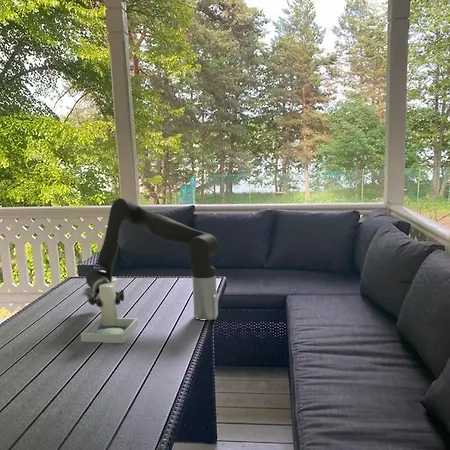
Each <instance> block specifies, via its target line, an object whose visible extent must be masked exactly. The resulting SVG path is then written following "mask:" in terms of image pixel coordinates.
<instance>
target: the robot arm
mask: <svg viewBox="0 0 450 450" xmlns="http://www.w3.org/2000/svg"><path fill="white" fill-rule="evenodd" d="M123 222H125V223H129V224H132V225H136V226H138V227H141V228H143V229H145V230H146V232H148V233H149V234H151V236H154V237H155V238H158V239H161V240H162V241H164V242H168V243H169V242H170V243H175V244H183V245H186V246H188V258H189V259H188V260H189V268H190V271H191V275H192V277H191V278H192V296H193V297H192V298H193V301H192V302H193V318H194V317H195V318H198V319H207V320H208V321H213V320H217V317H218V316H219V308H218V307H219V304H218V302H219V301H218V300H219V299H218V292H217V278H216V277H217V276H216V272H217V271H216V267H214V266H213V265H211V263H210V258H211V257H213V256H214V255H216V254H217V253H218V252H219V249H220V244H219V241H218V239H217V238H216V236H214V235H212V234H211V233H207V232H205V231H201V230H196V229H195V228H193V227H189V226H188V225H186V224H183V223H181V222H178V221H176V220H174V219H172V218H170V217H167V216H165V215H162V214H159V213H156V212H152V211H151V212H150V211H149V210H146V209H144V208H143V207H141V206H140V205H138V204H137V203H135V202H134V201H131V200H128V199H127V198H126V199H125V198H117V199H115V200H114V201H113V203H112V204H111V208H110V210H109V216H108V220H107V225H106V230H105V236H104V240H103V243H102V245H101V249H100V252H99V255H98V257H97V261H96V263H97V264H98V265H99V266H100V267H103V268H104V269H105V272H102V271H103V270H102V271H99V270H100V269H99V270H98V269H91V270H89V271H88V273H87V274H86V277H85V280H86V281H85V282H86V284H87V286H89V287H90V288H91V289H92V290H93V294H91V293H88V294H86V297H87V298H86V300H87V301H86V302H88V303H89V304H90V306H94V305H96V306H97V307H99V308H101V300H100V292H99V286H100V285H102V284H107V283H111V281H112V280H113V279H112V277H113V269H114V264H115V262H116V258H117V256H118V253H119V249H120V248H119V246H120V244H119V243H120V240H119V235H120V228H121V225H122V223H123ZM115 292H116V306H119V305H120V304H121V302H123V301H125V291H124V289H121V290H120V291H119V292H118V291H117V290H115ZM195 318H194V319H195Z"/></svg>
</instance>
